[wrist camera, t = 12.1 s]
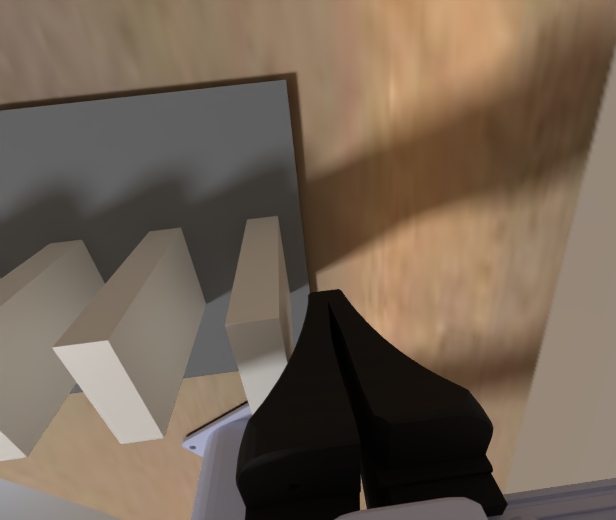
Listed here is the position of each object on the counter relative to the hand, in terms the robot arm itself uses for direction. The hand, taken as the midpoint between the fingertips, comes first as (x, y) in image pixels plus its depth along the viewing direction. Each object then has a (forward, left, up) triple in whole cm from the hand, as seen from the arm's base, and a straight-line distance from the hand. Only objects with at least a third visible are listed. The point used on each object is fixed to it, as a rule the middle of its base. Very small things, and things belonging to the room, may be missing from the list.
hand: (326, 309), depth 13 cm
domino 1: (+6, +11, -5) cm, 13 cm away
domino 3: (+1, +2, -5) cm, 6 cm away
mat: (+6, +11, -5) cm, 14 cm away
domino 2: (+4, +6, -5) cm, 9 cm away
